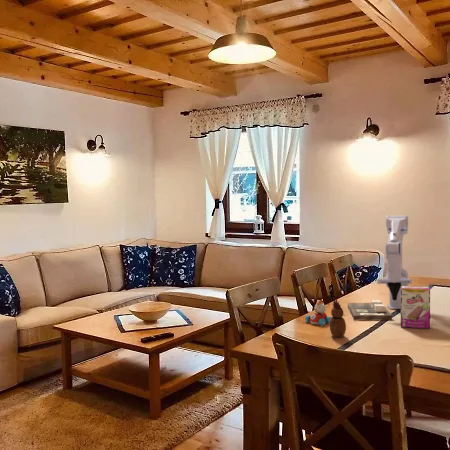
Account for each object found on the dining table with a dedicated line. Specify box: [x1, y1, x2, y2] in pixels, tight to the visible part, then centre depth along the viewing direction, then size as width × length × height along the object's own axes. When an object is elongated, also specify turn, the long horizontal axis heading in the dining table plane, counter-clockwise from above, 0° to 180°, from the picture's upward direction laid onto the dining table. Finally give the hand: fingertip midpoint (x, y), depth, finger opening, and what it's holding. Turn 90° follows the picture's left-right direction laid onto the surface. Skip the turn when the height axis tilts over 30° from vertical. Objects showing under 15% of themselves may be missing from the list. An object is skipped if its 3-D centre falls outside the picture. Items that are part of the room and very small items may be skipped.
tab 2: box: [374, 303, 386, 312], centre depth 217 cm, size 4×4×2 cm
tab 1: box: [370, 299, 383, 308], centre depth 224 cm, size 4×4×2 cm
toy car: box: [304, 299, 332, 327], centre depth 209 cm, size 9×9×10 cm
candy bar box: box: [400, 285, 431, 330], centre depth 197 cm, size 11×5×16 cm, turn 71°
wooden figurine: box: [329, 297, 347, 338], centre depth 189 cm, size 7×6×15 cm
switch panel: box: [347, 302, 393, 321], centre depth 222 cm, size 16×24×2 cm, turn 172°
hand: (394, 299), depth 215 cm, fingers closed
